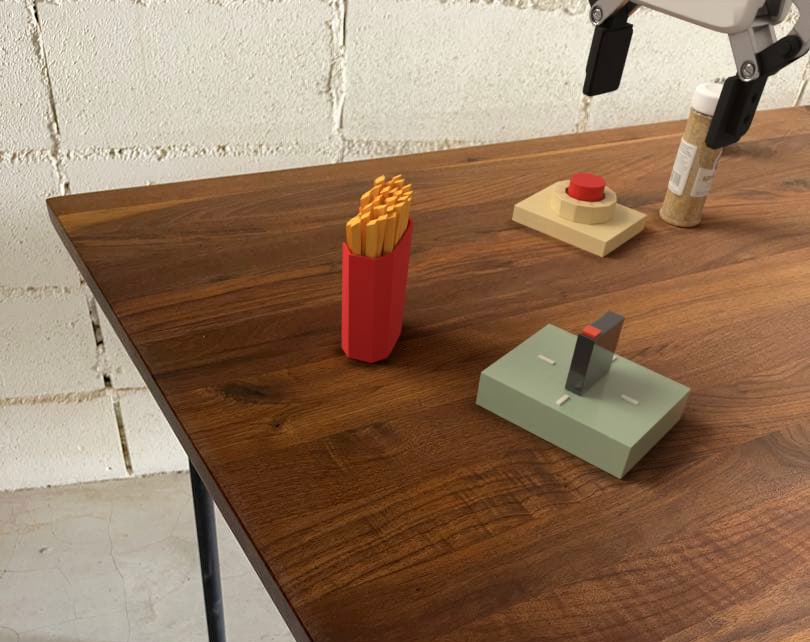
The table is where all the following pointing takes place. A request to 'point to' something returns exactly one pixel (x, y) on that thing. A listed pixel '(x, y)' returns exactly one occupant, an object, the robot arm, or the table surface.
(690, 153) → the spice jar
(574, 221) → the switch block
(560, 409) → the green flat block
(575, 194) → the power button
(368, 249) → the french fries
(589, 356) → the red-topped dark block
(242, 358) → the table surface
